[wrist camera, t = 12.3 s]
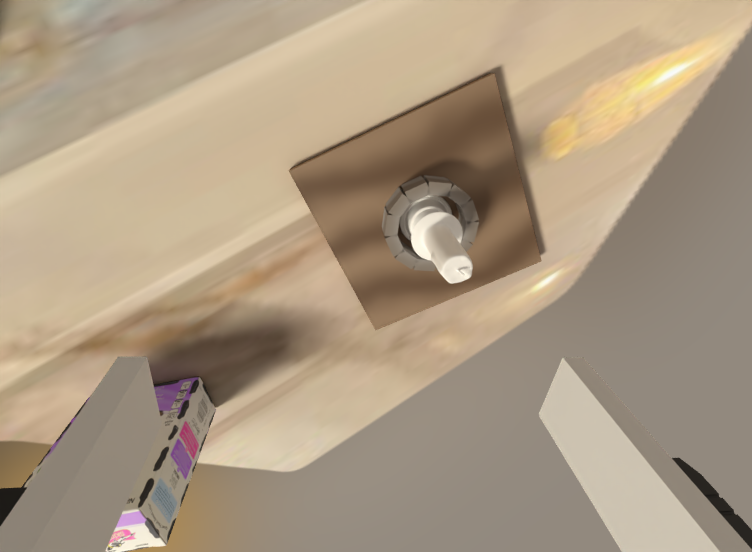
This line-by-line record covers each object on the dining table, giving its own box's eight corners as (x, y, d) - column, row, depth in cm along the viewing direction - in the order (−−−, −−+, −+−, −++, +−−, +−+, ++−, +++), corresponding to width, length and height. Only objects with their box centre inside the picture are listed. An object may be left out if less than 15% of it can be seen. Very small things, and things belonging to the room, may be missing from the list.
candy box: (200, 374, 47) (140, 510, 32) (217, 408, 50) (169, 548, 35) (87, 395, 47) (-25, 541, 32) (110, 429, 49) (17, 577, 35)
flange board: (290, 168, 37) (286, 177, 34) (490, 73, 34) (505, 73, 31) (374, 325, 46) (377, 343, 43) (537, 257, 44) (552, 271, 41)
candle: (462, 209, 39) (510, 259, 28) (432, 252, 41) (466, 314, 30) (418, 183, 37) (452, 226, 27) (389, 229, 39) (410, 286, 29)
